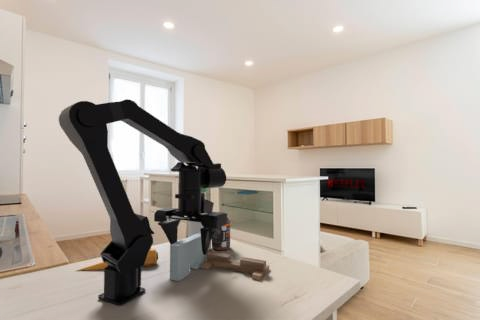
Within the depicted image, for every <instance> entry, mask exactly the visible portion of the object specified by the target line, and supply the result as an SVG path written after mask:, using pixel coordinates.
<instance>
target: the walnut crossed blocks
mask: <svg viewBox="0 0 480 320" xmlns="http://www.w3.org/2000/svg"><path fill="white" fill-rule="evenodd" d="M213 267H215V268H220V269H224V270H231V271H234V272H235V271H236V272H239V273H246V274H251V279H252V280H256V281H261V280H262V278H264V277H265V275H266V274H267V273H268V271H270V265H269V264H267V260H263V259H257V258H251V257H245V256H243V257H241V258H240V259H239V261H235V260H232V255H231V254H227V253H222V252H215V251H208V252H207V254H206V262H205V263H203V264H202V266H201V269H202V270H207V271H208V270H210V269H212V268H213Z"/></svg>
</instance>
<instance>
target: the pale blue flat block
mask: <svg viewBox="0 0 480 320" xmlns="http://www.w3.org/2000/svg"><path fill="white" fill-rule="evenodd" d="M205 262H207V254H205V255H203V252H202V244H201V233H197V234H195V235H192V236H190V237H188V238H184V239H180V240H177V242H176V243H173V244H170V245H169V280H171V281H175V282H179V281H181V280H182V279H184V278H185V277H187V276H189V275H190V273H191V271H190V269H195V270H198V269H200V268H202V264H203V263H205Z"/></svg>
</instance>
